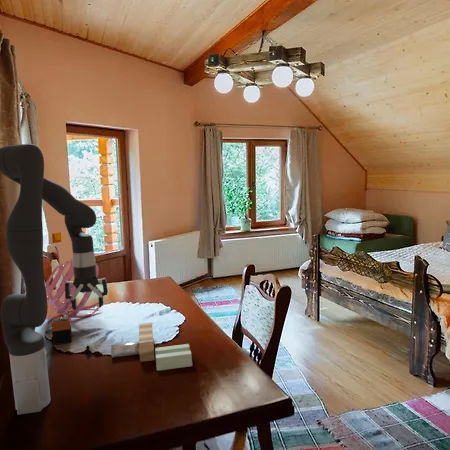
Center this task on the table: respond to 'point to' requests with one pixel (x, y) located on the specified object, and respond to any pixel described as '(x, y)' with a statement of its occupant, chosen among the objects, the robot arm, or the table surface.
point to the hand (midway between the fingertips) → (88, 308)
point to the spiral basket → (66, 305)
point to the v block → (173, 357)
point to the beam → (146, 342)
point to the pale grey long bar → (125, 349)
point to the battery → (61, 330)
